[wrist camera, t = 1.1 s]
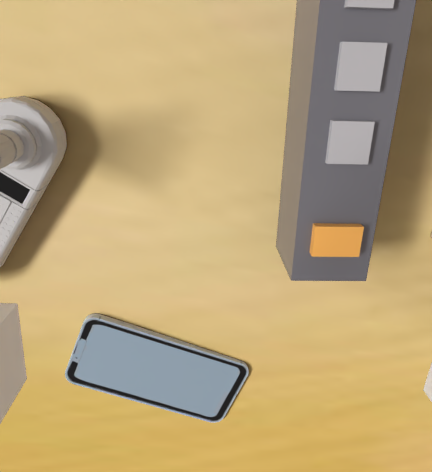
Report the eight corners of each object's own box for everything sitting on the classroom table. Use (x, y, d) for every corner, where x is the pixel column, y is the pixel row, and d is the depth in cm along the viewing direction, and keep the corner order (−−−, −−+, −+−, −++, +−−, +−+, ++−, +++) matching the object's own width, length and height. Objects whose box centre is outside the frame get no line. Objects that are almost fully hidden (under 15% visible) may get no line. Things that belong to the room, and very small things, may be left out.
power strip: (304, -95, 24) (339, -154, 18) (386, -92, 24) (448, -148, 18) (275, 245, 32) (292, 284, 26) (337, 245, 32) (369, 285, 26)
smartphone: (219, 425, 38) (61, 381, 35) (219, 417, 39) (65, 373, 36) (252, 366, 36) (86, 313, 33) (251, 359, 37) (89, 307, 34)
